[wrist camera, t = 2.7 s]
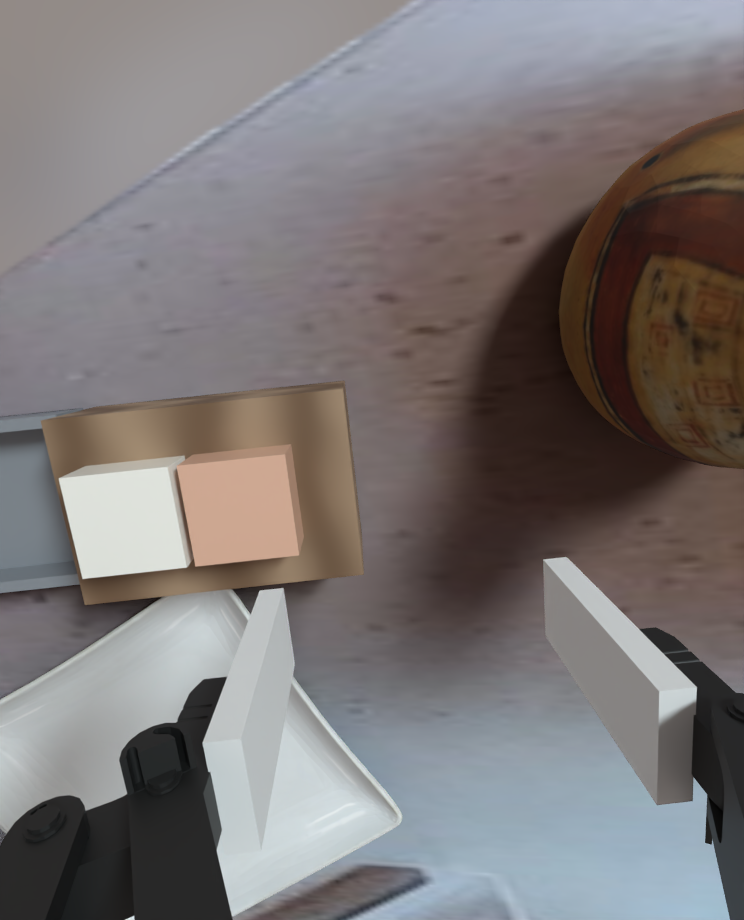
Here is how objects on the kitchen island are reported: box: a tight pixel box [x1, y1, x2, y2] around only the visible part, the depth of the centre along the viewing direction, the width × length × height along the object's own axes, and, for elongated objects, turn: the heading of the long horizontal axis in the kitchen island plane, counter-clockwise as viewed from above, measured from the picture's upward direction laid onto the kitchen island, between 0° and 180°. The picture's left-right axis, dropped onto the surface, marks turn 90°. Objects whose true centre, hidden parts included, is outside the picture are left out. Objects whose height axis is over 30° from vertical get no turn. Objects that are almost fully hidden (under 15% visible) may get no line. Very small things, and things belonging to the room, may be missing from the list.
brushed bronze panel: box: [41, 381, 364, 605], centre depth 36 cm, size 18×12×7 cm, turn 96°
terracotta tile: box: [177, 444, 304, 567], centre depth 31 cm, size 6×6×3 cm
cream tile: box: [59, 456, 194, 579], centre depth 31 cm, size 6×6×3 cm
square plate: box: [0, 589, 402, 920], centre depth 43 cm, size 27×27×4 cm
